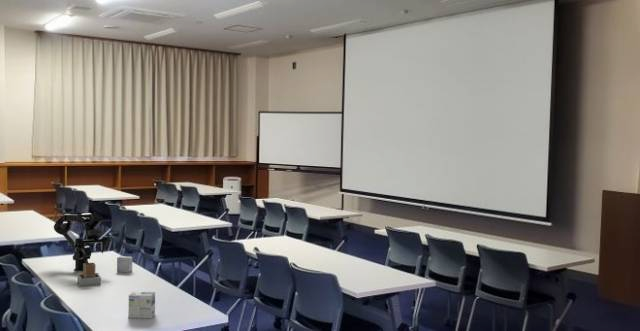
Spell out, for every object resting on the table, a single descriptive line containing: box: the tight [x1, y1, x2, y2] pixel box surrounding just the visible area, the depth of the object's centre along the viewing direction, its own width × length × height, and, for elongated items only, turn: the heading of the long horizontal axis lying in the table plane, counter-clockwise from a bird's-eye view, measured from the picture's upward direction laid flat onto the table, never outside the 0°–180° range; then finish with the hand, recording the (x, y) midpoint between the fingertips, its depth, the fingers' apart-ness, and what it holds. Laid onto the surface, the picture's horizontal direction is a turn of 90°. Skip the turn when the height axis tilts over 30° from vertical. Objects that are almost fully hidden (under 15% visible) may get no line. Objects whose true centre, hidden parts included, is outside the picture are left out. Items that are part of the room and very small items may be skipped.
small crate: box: [82, 262, 96, 278], centre depth 313 cm, size 6×6×10 cm
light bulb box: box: [127, 291, 156, 319], centre depth 260 cm, size 11×7×11 cm, turn 92°
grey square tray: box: [77, 272, 102, 287], centre depth 313 cm, size 11×11×4 cm
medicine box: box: [116, 255, 133, 273], centre depth 342 cm, size 8×4×9 cm, turn 84°
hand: (94, 253), depth 327 cm, fingers open, 9 cm apart
